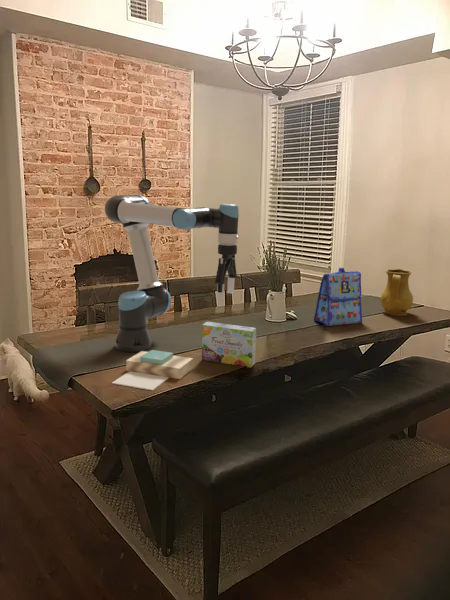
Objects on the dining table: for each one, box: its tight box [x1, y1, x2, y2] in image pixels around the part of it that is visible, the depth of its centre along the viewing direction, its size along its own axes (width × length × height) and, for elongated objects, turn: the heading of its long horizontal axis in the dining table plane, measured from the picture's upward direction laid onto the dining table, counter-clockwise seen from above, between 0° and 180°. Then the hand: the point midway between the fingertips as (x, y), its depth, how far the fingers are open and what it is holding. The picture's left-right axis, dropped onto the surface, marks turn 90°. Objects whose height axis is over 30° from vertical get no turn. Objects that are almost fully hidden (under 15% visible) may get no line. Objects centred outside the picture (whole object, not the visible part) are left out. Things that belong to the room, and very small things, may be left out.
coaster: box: [140, 349, 174, 365], centre depth 190 cm, size 9×9×2 cm
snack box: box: [201, 321, 257, 368], centre depth 199 cm, size 21×6×15 cm, turn 69°
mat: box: [111, 371, 169, 391], centre depth 180 cm, size 16×12×1 cm
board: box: [125, 350, 194, 380], centre depth 191 cm, size 22×12×4 cm, turn 70°
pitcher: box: [379, 268, 414, 317], centre depth 281 cm, size 17×19×25 cm
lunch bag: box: [313, 267, 363, 327], centre depth 261 cm, size 22×14×29 cm, turn 114°
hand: (225, 296), depth 204 cm, fingers open, 13 cm apart
